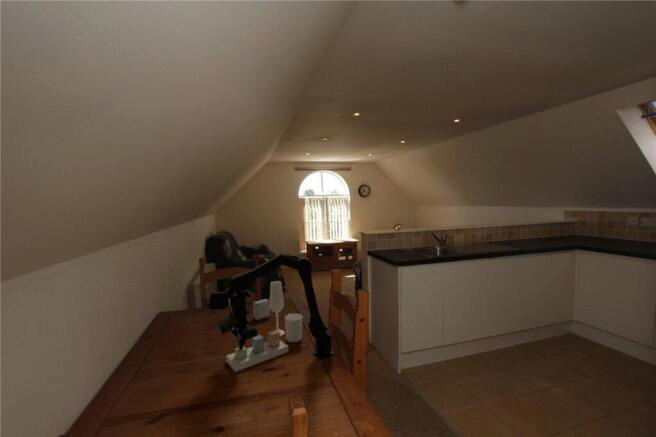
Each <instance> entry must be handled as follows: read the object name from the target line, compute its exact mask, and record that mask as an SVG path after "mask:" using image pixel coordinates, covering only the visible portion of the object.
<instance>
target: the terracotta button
mask: <svg viewBox="0 0 656 437" xmlns="http://www.w3.org/2000/svg"><path fill="white" fill-rule="evenodd" d="M267 337H268V338H267V340H268V341H267V342H268V344H269V345H270V346H272V347H274V346H277V345H280V340H281V338H280V337H281V336H280V334H279V332H278V331H276V329H274V330H270V331H268V332H267Z"/></svg>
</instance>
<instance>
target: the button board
mask: <svg viewBox="0 0 656 437" xmlns="http://www.w3.org/2000/svg"><path fill="white" fill-rule="evenodd" d="M246 349H247V357H246V358H243V359H241V360H237V359H236V358H235V352H233V353H229V354H226V362H227V364H228V365H229V367H231V369H232V370H233V371H234V373H236V372H239V371H242V370H245V369H246V368H250V367H252V366H255V365H257V364H260V363H263V362H265V361H268V360H271V359H273V358H277V357H278V356H282V355H284V354H286V353H289V345H288V344H286V343H285V342H284V341H282V340H281V339H280V345H277V346H274V347H272V346H270V345H269V344H268V341H266V342H265V341H264V350H263V351H260V352H257V353H256V352H254V351H253V350H252V346H251V347H247V348H246Z"/></svg>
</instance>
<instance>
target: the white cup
mask: <svg viewBox="0 0 656 437" xmlns="http://www.w3.org/2000/svg"><path fill="white" fill-rule="evenodd" d="M303 318H304V317H303V315H302V314H300V313H288V314H287V315H284V323H285V324H284V325H285V327H284V328H285V335H286V341H287V342H290V343H297V342H299V341H301V340H302V339H303Z"/></svg>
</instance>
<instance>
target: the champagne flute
mask: <svg viewBox="0 0 656 437" xmlns="http://www.w3.org/2000/svg"><path fill="white" fill-rule="evenodd" d="M269 290H270V291H269V292H270V293H269V301H270V304H269V307H270V311H272V312H273V313H274V314H275V330H276V331H278V332H279V334H280V337H281V336H283V335H285V334H286V331H284V330H282V329H280V328H279V313H281V311H282V310H283V309H284V307H285V302H284V295H283V286H282V281H280V280H275V281H271V282H270V289H269Z"/></svg>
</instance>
